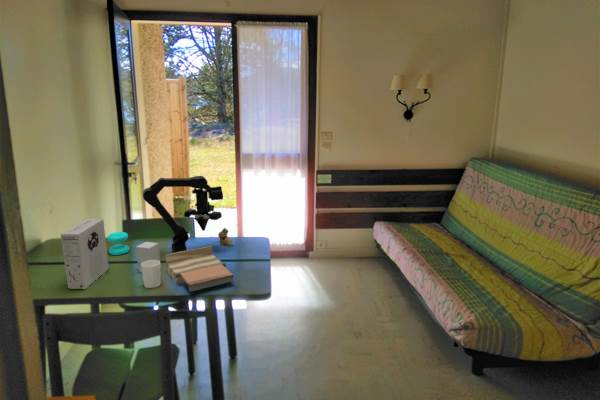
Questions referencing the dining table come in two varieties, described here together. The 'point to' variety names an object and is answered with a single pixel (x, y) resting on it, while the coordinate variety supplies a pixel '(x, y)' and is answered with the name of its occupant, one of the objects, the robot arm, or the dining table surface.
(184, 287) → the dining table surface
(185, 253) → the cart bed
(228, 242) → the chocolate bunny
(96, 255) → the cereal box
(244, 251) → the dining table surface
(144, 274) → the white cup
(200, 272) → the panel
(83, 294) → the dining table surface
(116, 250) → the donuts
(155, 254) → the supplement box
